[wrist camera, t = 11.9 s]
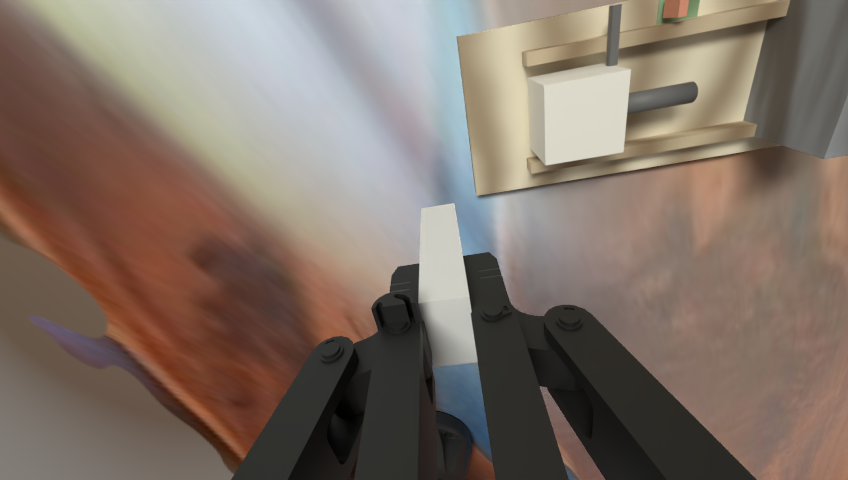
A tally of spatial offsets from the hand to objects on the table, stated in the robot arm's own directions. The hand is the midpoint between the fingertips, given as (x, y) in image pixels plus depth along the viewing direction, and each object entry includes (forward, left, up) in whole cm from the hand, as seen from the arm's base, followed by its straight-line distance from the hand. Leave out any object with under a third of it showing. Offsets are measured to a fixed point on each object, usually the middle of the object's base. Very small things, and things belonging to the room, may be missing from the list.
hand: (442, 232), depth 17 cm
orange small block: (+19, +6, -18) cm, 27 cm away
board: (+17, 0, -20) cm, 26 cm away
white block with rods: (+14, +2, -19) cm, 24 cm away
